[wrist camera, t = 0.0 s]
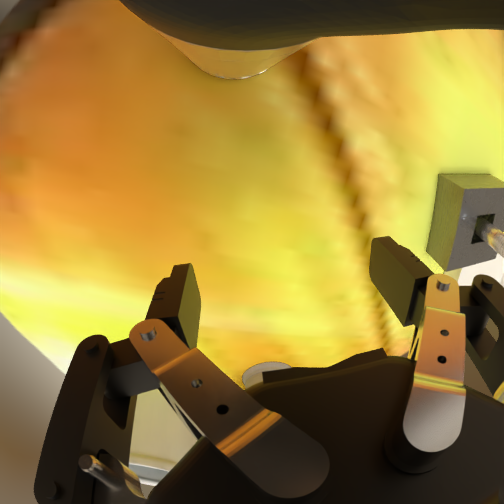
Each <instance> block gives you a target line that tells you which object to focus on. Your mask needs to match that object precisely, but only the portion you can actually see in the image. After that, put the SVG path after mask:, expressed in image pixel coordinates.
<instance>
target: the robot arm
mask: <svg viewBox="0 0 504 504" xmlns="http://www.w3.org/2000/svg"><path fill="white" fill-rule="evenodd" d="M120 1H121V2H122V3H123V4H124V5H125V6H126V7H127V8H128V9H129V10H130V11H132V12H133V13H134V14H136V15H137V16H138V17H140V18H141V19H142V20H143V21H145V22H146V23H147V24H148V25H150V26H151V27H152V28H153V29H154V30H156V31H157V32H158V33H159V34H161V35H162V36H163V37H164V38H166V39H167V40H168V41H169V42H171V43H172V44H173V45H174V46H175V47H176V48H177V49H179V50H180V51H181V52H182V53H183V54H184V55H185V56H186V57H188V58H189V59H190V60H191V61H192V62H193V63H194V64H196V65H197V66H198V67H199V68H200V69H201V70H203V71H205V72H206V73H208V74H210V75H213V76H216V77H219V78H225V79H243V78H248V77H252V76H255V75H257V74H260V73H262V72H264V71H266V70H267V69H268V68H270V67H272V66H274V65H275V64H277V63H278V62H280V61H281V60H283V59H285V58H286V57H288V56H290V55H291V54H293V53H295V52H296V51H298V50H300V49H302V48H303V47H305V46H307V45H308V44H310V43H312V42H314V41H315V40H317V39H319V38H321V37H330V36H358V35H384V34H400V33H412V32H423V31H435V30H450V29H494V30H504V0H120ZM369 273H370V278H371V280H372V282H373V283H374V285H375V286H376V288H377V289H378V290H379V292H380V293H381V295H382V296H383V297H384V299H385V300H386V302H387V303H388V305H389V306H390V307H391V309H392V310H393V312H394V313H395V315H396V316H397V318H398V319H399V321H400V322H401V324H402V325H403V327H405V326H409V325H412V324H414V325H415V329H414V332H413V337H412V341H411V346H410V350H409V354H408V358H404V357H399V356H387V355H386V353H385V351H384V349H383V348H380V349H376V350H372V351H368V352H364V353H360V354H356V355H354V356H352V357H350V358H348V359H345V360H343V361H341V362H339V363H337V364H335V365H332V366H330V367H326V368H308V367H292V368H285V369H279V370H272V371H265V372H262V377H263V381H261V382H259V383H256V384H254V385H252V386H250V387H248V388H247V389H245V390H243V389H242V388H240V387H239V386H238V385H237V384H236V383H235V382H234V381H232V380H231V379H230V378H229V377H228V376H227V375H226V374H225V373H223V372H222V371H221V370H220V369H219V368H218V367H217V366H216V365H215V364H214V363H213V362H211V361H210V360H209V359H208V358H207V357H206V356H205V355H204V354H203V353H202V352H201V351H200V350H199V349H197V338H198V329H199V320H200V311H201V298H200V293H199V289H198V285H197V281H196V277H195V273H194V269H193V266H192V264H191V263H188V264H180V265H174V267H173V270H172V273H171V276H170V277H168V278H163V280H162V281H161V282H160V283H159V284H158V285H157V287H156V289H155V292H154V295H153V298H152V301H151V304H150V306H149V309H148V312H147V315H146V318H145V320H144V321H142V322H140V323H138V324H137V325H135V326H134V327H133V328H132V330H131V331H130V334H129V338H127V339H124V340H121V341H117V342H114V343H111V344H110V343H109V341H108V339H107V338H106V337H105V336H103V335H92V336H90V337H87V338H86V339H84V340H83V341H82V342H81V343H80V344H79V345H78V347H77V349H76V351H75V353H74V356H73V358H72V361H71V363H70V366H69V368H68V371H67V374H66V376H65V379H64V382H63V384H62V387H61V390H60V393H59V396H58V399H57V401H56V404H55V407H54V410H53V414H52V417H51V420H50V423H49V427H48V430H47V433H46V437H45V440H44V444H43V448H42V452H41V456H40V460H39V464H38V469H37V474H36V478H35V483H34V495H35V498H36V500H37V502H38V503H39V504H504V287H503V286H502V285H501V284H500V283H499V282H498V281H497V280H496V279H494V278H493V277H491V276H488V275H484V274H479V275H476V276H475V277H474V278H473V282H472V285H471V286H459V285H458V283H457V281H456V280H455V279H454V278H452V277H450V276H448V275H445V274H434V273H433V272H432V271H431V270H430V269H429V268H428V267H427V266H426V265H425V264H424V263H423V262H422V261H420V259H419V258H418V257H416V256H415V255H414V254H413V253H412V252H411V251H410V250H409V249H407V248H405V247H403V246H401V245H398V244H397V243H396V242H395V241H394V240H393V239H392V238H391V237H389V236H385V237H378V238H374V239H373V240H372V244H371V256H370V266H369ZM489 318H491V319H492V320H493V322H494V323H495V324H496V325H497V327H498V329H499V338H498V340H497V342H496V341H495V339H494V338H493V337H492V336H491V334H490V333H489V331H488V330H487V329H486V324H487V322H488V320H489ZM465 350H466V352H467V353H468V355H469V356H470V358H471V360H472V361H473V363H474V364H475V366H476V368H477V369H478V371H479V373H480V374H481V376H482V378H483V379H484V381H485V383H486V384H487V386H488V388H489V390H490V392H491V393H492V395H493V397H494V398H491V397H489V396H487V395H485V394H483V393H481V392H478V391H476V390H474V389H472V388H470V387H468V386H466V385H464V384H463V378H464V364H465ZM155 389H157V390H158V391H159V392H160V394H161V395H162V396H163V398H164V399H165V400H166V402H167V403H168V404H169V406H170V407H171V408H172V410H173V411H174V412H175V413H176V415H177V416H178V417H179V418H180V420H181V421H182V422H183V424H184V425H185V426H186V428H187V429H188V430H189V432H190V433H191V434H192V435H193V437H194V438H195V439H196V440H197V442H196V443H195V444H194V445H193V446H192V448H191V449H190V450H189V451H188V452H187V453H186V454H185V455H184V456H183V457H182V459H181V460H180V461H179V462H178V463H177V464H176V465H175V466H174V467H173V468H172V469H171V470H170V471H169V472H168V473H167V474H166V476H165V477H164V478H163V479H162V480H161V481H160V482H159V483H158V484H157V485H156V486H155V487H154V488H153V489H152V491H151V492H150V494H149V496H148V498H147V499H146V498H145V497H144V495H143V493H142V490H141V483H140V480H139V478H138V476H137V475H136V474H135V473H134V472H133V471H132V470H131V469H129V457H130V448H131V439H132V431H133V423H134V416H135V409H136V402H137V396H138V394H141V393H144V392H148V391H151V390H155Z"/></svg>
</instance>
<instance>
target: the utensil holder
mask: <svg viewBox="0 0 504 504" xmlns="http://www.w3.org/2000/svg"><path fill="white" fill-rule="evenodd" d="M195 443H196V439H195V438H194V437H193V435H192V434H191V433H190V432H189V430H188V429H187V428H186V426H185V425H184V424H183V422H182V421H181V420H180V418H179V417H178V416H177V415H176V413H175V412H174V411H173V410H172V408H171V407H170V406H169V404H168V403H167V402H166V400H165V399H164V398H163V396H162V395H161V394H160V392H159V391H158V390H157V389H155V390H151V391H148V392H144V393H141V394H138V396H137V402H136V409H135V416H134V423H133V431H132V439H131V448H130V457H129V469H131V470H132V471H133V472H134V473H135V474H136V475H137V476H138V478H139V480H140V483H143V484H148V485H153V486H156V485H157V484H158V483H159V482H160V481H161V480H162V479H163V478H164V477H165V476H166V474H167V473H168V472H169V471H170V470H171V469H172V468H173V467H174V466H175V465H176V464H177V463H178V462H179V461H180V460H181V459H182V457H183V456H184V455H185V454H186V453H187V452H188V451H189V450H190V449H191V448H192V446H193V445H194V444H195Z"/></svg>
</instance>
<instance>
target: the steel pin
mask: <svg viewBox="0 0 504 504" xmlns="http://www.w3.org/2000/svg"><path fill="white" fill-rule="evenodd" d="M474 233H475V234H476V235H478V236H479V237H480V238H481V239H482V240H484V241H485V242H486V243H487V244H488V245H489V246H491V247H492V248H493V249H494V250H495V251H496V252H497V253H498V254H500V255H501V256H502V257H503V258H504V233H503V232H502V231H500V230H499V229H498V228H496V227H495V226H494V225H492V224H491V223H490V222H489V221H487V220H486V219H484V218H483V217H482V216H480V215H478V216H477V220H476V225H475V229H474Z"/></svg>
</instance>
